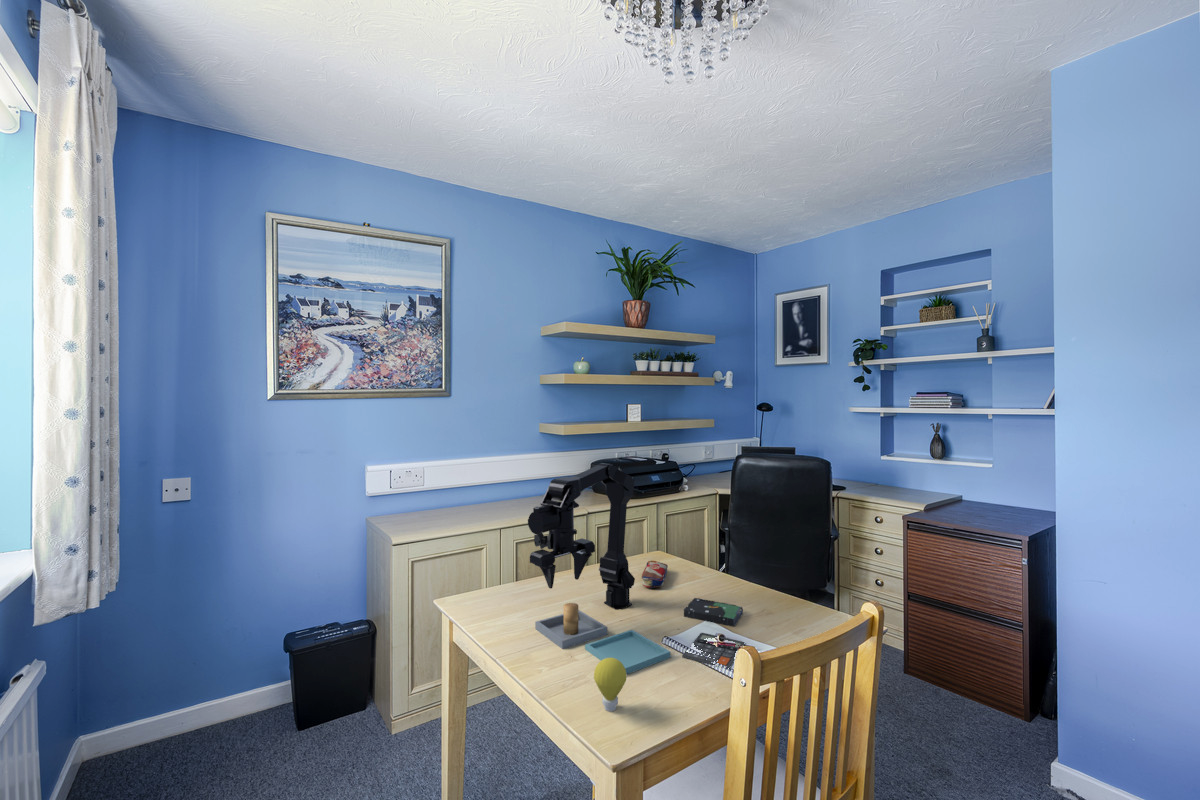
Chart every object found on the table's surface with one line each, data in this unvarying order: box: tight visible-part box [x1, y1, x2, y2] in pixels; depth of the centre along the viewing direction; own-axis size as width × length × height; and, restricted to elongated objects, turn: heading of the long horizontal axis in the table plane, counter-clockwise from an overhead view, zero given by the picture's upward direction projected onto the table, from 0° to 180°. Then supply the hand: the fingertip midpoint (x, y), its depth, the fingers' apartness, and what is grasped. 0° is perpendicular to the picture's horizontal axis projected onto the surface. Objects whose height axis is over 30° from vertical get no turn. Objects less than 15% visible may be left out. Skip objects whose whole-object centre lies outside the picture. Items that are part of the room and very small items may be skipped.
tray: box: [584, 629, 672, 675], centre depth 134 cm, size 15×15×2 cm
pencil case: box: [641, 560, 668, 589], centre depth 186 cm, size 11×20×5 cm, turn 153°
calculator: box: [681, 632, 746, 670], centre depth 136 cm, size 12×1×15 cm
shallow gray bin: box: [535, 609, 608, 650], centre depth 146 cm, size 14×14×2 cm
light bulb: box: [593, 658, 627, 712], centre depth 111 cm, size 7×7×10 cm
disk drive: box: [683, 597, 744, 628], centre depth 157 cm, size 10×3×15 cm
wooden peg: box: [563, 602, 579, 635], centre depth 146 cm, size 4×4×7 cm
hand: (563, 583), depth 146 cm, fingers open, 9 cm apart
